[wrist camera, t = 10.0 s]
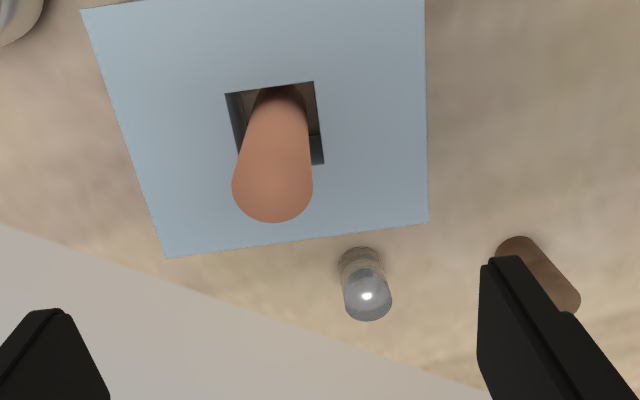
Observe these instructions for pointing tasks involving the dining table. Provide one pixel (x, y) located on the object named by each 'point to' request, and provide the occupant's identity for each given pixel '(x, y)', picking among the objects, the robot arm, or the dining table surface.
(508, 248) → the mid pin
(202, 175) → the hole block
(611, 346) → the dining table surface
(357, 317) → the short pin
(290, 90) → the long pin
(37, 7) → the plastic bottle
